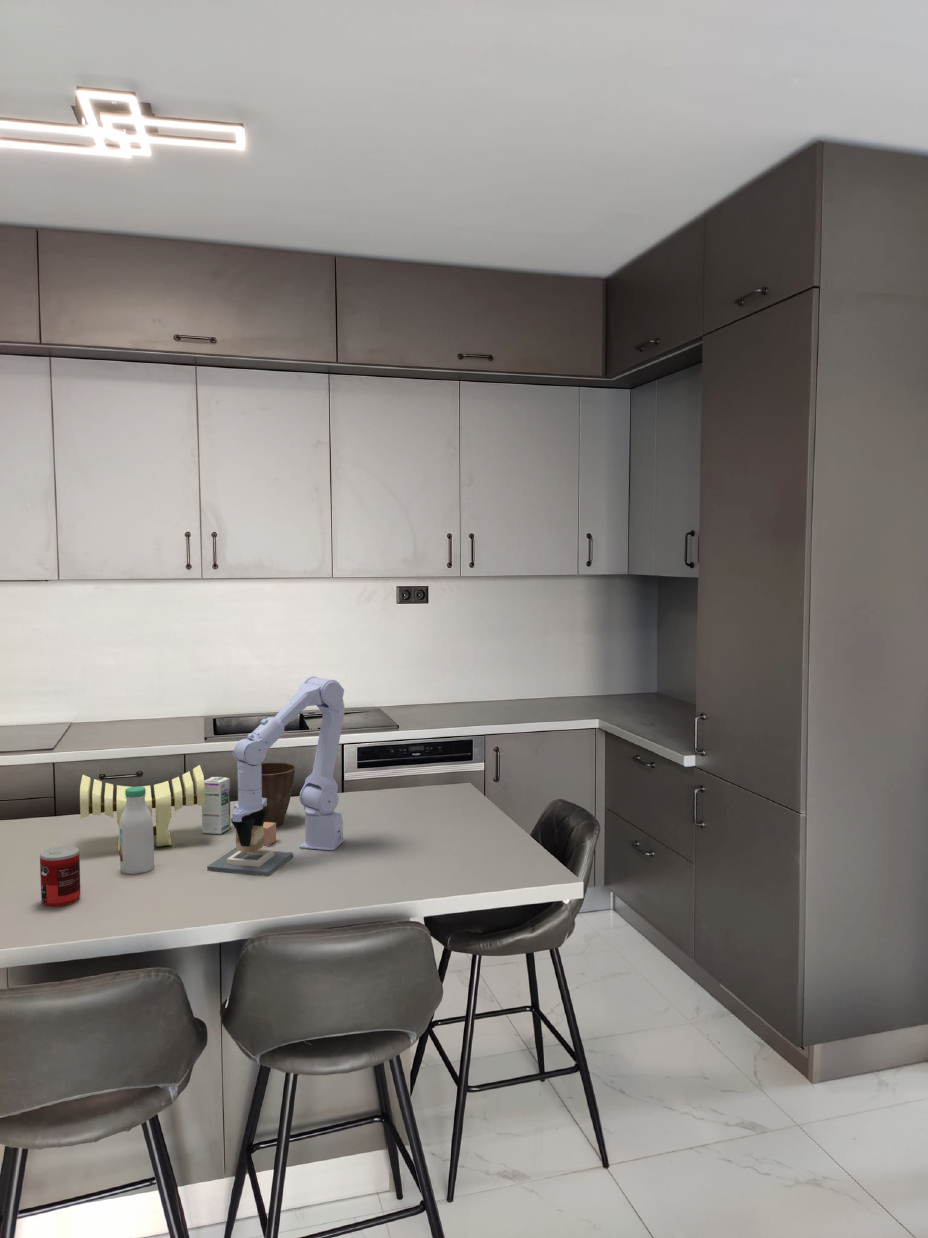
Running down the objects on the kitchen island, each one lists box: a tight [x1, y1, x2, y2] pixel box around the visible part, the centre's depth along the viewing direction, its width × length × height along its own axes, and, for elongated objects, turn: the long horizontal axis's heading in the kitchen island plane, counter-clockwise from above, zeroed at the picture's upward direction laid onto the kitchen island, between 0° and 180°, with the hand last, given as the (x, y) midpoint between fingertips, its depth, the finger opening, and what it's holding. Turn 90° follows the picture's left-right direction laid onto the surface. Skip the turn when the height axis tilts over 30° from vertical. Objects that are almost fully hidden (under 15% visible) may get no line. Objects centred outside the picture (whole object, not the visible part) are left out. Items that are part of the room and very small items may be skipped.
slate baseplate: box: [206, 847, 294, 877], centre depth 216 cm, size 16×14×2 cm
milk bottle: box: [118, 785, 155, 875], centre depth 211 cm, size 8×8×20 cm
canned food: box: [39, 845, 81, 908], centre depth 192 cm, size 8×8×11 cm
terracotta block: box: [263, 822, 277, 847], centre depth 231 cm, size 5×5×5 cm
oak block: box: [235, 825, 264, 852], centre depth 216 cm, size 5×5×5 cm
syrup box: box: [201, 776, 231, 835], centre depth 241 cm, size 6×6×14 cm
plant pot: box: [261, 762, 296, 827], centre depth 248 cm, size 15×15×16 cm
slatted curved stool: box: [79, 764, 205, 852], centre depth 232 cm, size 30×16×18 cm, turn 111°
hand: (250, 842), depth 216 cm, fingers closed on oak block, 5 cm apart
